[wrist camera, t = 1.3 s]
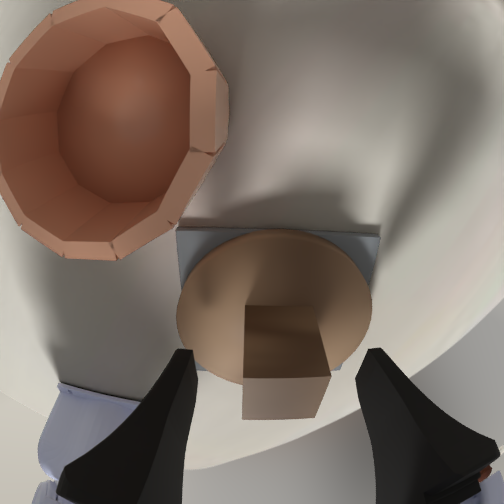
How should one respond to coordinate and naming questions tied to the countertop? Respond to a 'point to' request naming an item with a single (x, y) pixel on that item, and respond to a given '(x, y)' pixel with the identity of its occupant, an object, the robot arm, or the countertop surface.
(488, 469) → the muffin
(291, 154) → the countertop surface
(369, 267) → the mat
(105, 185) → the bowl
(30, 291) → the countertop surface
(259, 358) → the lid
